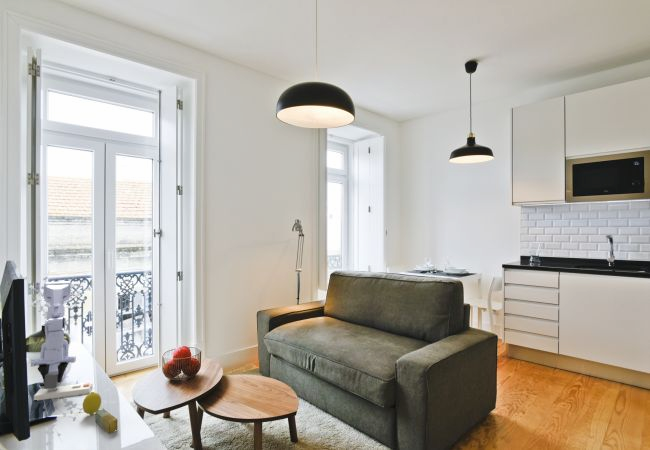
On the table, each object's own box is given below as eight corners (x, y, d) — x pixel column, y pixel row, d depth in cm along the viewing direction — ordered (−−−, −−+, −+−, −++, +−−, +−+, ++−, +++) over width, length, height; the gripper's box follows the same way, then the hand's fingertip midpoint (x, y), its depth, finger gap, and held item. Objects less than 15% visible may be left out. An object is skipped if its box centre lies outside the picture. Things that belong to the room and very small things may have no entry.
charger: (48, 389, 144) (49, 371, 144) (60, 387, 145) (61, 370, 146) (43, 393, 139) (44, 375, 140) (56, 392, 141) (57, 374, 141)
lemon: (91, 419, 124) (92, 395, 124) (78, 417, 125) (79, 394, 125) (104, 412, 129) (105, 389, 130) (91, 410, 130) (92, 388, 131)
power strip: (39, 396, 143) (39, 387, 143) (92, 389, 150) (92, 380, 151) (33, 403, 137) (34, 394, 137) (88, 395, 144) (89, 386, 144)
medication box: (94, 422, 122) (94, 410, 122) (103, 419, 124) (103, 407, 124) (109, 434, 115) (109, 421, 115) (118, 430, 117) (118, 418, 117)
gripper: (28, 352, 137) (26, 388, 136) (72, 348, 142) (71, 383, 141) (35, 347, 144) (34, 381, 143) (77, 344, 149) (76, 377, 148)
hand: (53, 382), depth 143 cm, fingers closed on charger, 4 cm apart
